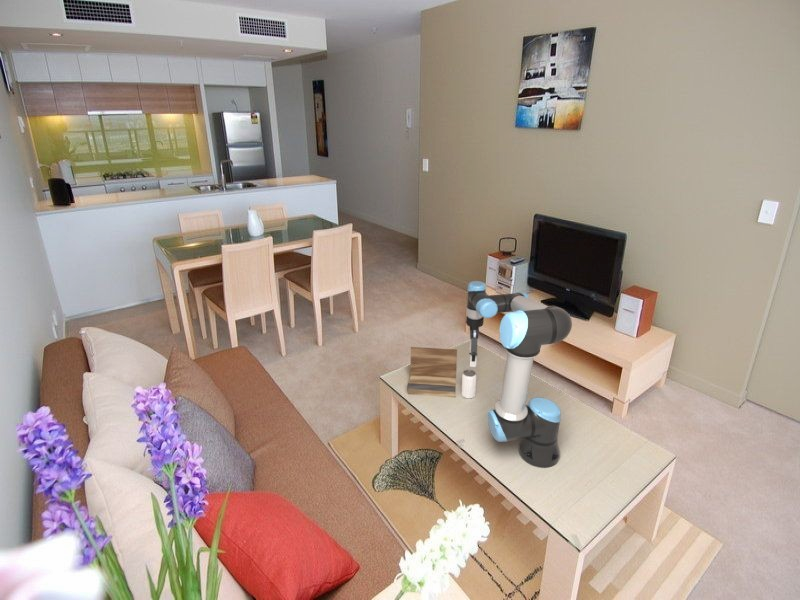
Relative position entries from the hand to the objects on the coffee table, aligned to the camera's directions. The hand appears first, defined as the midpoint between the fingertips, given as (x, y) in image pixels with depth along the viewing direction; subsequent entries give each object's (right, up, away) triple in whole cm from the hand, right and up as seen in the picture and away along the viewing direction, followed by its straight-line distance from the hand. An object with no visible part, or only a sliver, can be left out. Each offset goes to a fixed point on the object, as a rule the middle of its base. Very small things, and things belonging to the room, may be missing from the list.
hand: (472, 358), depth 209 cm
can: (-1, -18, +7) cm, 19 cm away
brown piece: (-17, -16, +13) cm, 26 cm away
